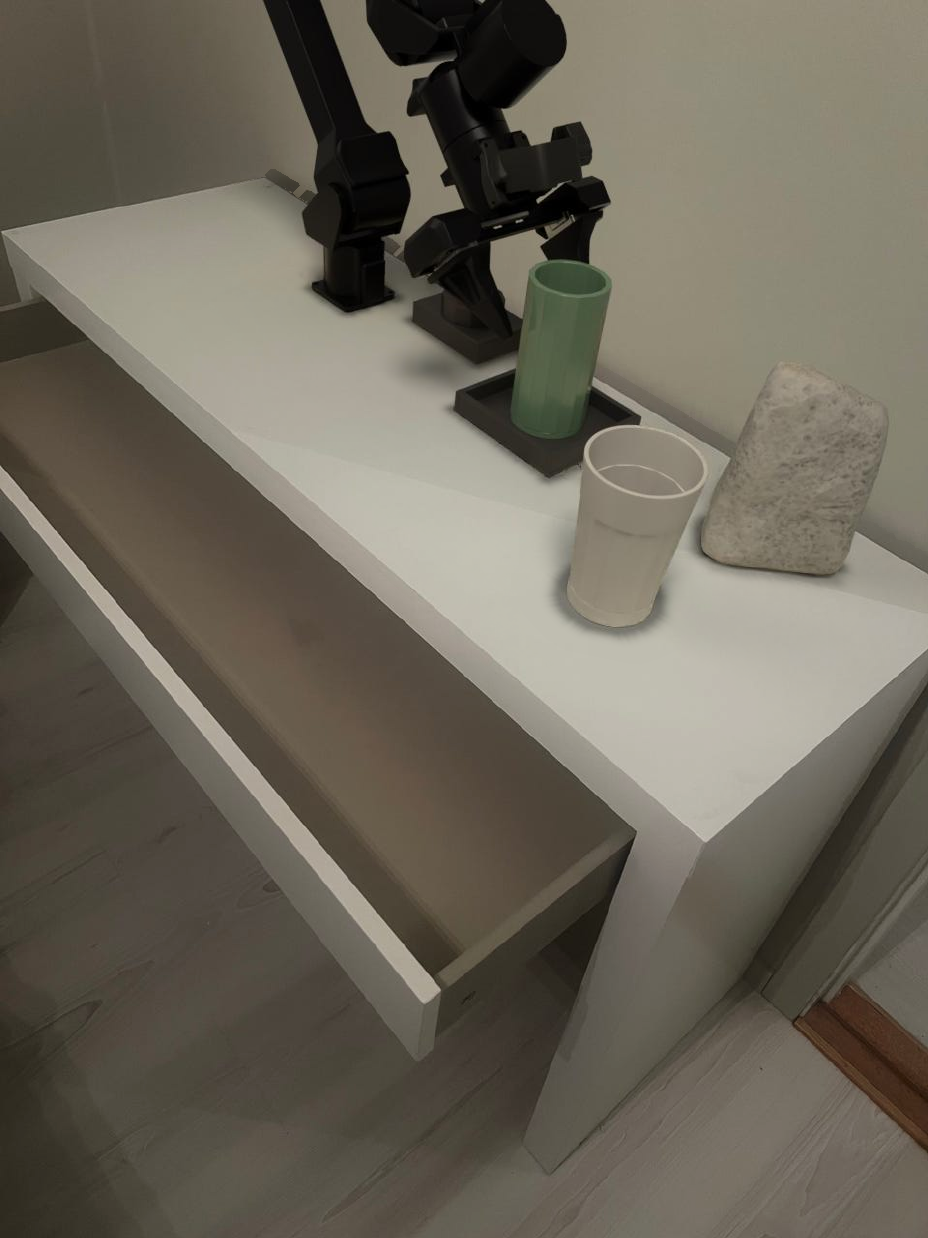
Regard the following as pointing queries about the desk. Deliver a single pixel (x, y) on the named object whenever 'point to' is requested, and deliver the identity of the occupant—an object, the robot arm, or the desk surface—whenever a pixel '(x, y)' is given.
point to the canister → (558, 347)
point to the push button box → (463, 327)
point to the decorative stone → (797, 474)
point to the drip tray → (549, 456)
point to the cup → (630, 520)
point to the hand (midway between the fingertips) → (548, 324)
